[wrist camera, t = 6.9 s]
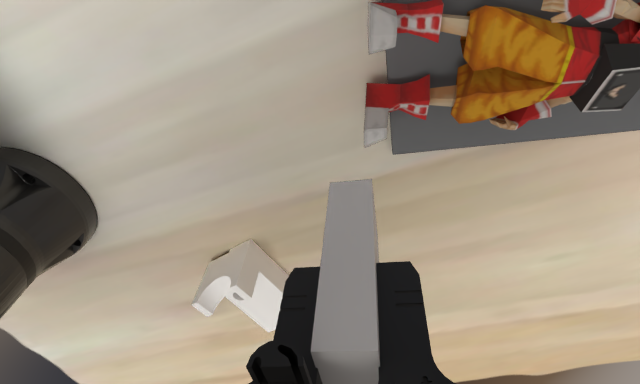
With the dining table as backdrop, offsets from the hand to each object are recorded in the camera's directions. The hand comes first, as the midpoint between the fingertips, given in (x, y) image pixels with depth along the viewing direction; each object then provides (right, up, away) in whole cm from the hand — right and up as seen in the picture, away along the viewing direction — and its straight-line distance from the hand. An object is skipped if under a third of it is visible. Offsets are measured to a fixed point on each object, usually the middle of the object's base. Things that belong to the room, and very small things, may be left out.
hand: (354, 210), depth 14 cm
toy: (+2, +10, +15) cm, 18 cm away
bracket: (-9, -11, +38) cm, 40 cm away
